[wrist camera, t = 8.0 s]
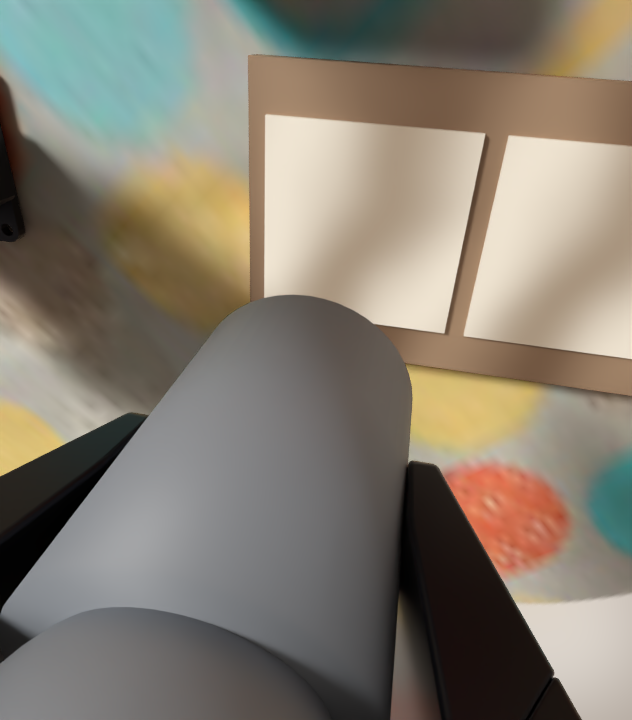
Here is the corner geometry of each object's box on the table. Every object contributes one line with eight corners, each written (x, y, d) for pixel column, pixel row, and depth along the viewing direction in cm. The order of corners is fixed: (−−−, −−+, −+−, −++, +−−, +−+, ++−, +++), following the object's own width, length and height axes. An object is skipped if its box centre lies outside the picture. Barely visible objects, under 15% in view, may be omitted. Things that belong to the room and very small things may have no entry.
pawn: (206, 456, 11) (-174, 1143, 4) (193, 280, 9) (-585, 1054, 2) (396, 491, 11) (320, 1337, 4) (429, 311, 9) (398, 1482, 2)
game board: (257, 329, 22) (249, 342, 21) (257, 54, 17) (245, 55, 16) (872, 416, 19) (896, 437, 18) (1099, 115, 14) (1150, 121, 13)
